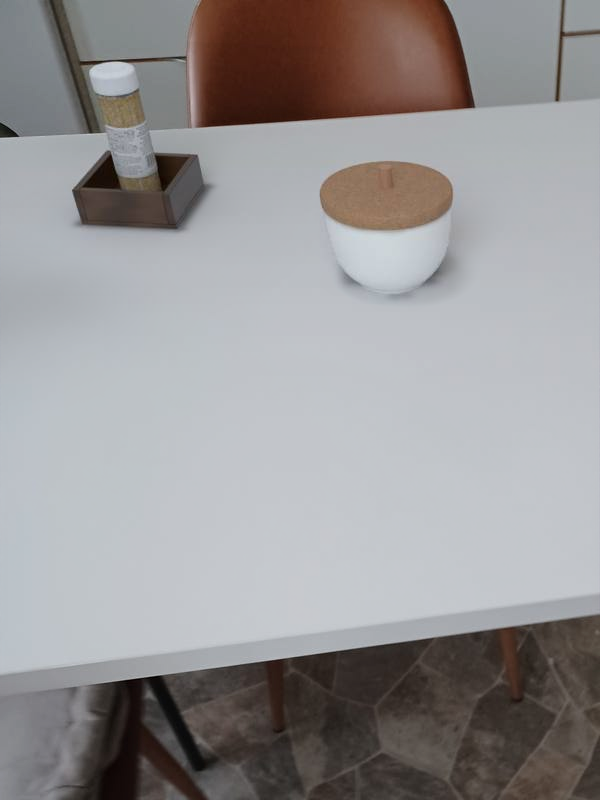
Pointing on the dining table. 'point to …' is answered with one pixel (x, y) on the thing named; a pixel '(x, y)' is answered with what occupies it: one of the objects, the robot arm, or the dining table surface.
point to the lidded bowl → (388, 223)
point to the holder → (140, 194)
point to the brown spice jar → (126, 125)
